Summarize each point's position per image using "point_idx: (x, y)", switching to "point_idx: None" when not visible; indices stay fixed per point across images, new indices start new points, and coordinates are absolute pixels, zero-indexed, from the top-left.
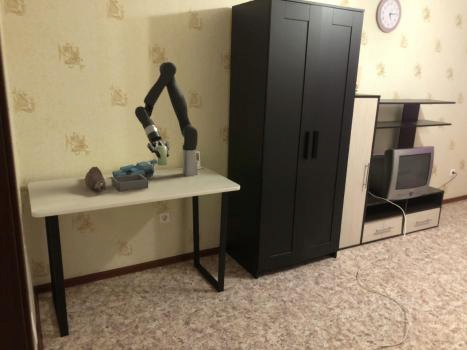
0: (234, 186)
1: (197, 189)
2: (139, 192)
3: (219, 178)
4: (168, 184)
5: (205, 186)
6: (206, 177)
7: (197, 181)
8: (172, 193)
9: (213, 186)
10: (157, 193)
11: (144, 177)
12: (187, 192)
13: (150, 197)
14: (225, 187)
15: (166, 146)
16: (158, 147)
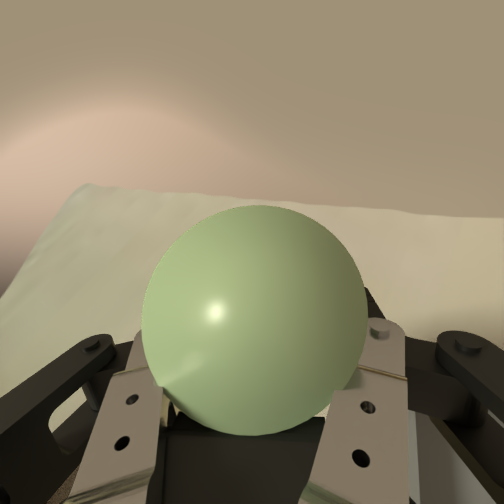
0: (84, 184)
1: (201, 214)
2: (465, 313)
3: (14, 299)
4: None
5: (149, 231)
6: (26, 352)
7: (111, 315)
8: (316, 217)
9: (129, 216)
10: (377, 249)
11: (410, 451)
12: (257, 201)
13: (430, 215)
14: (112, 188)
15: (172, 245)
16: (360, 290)
